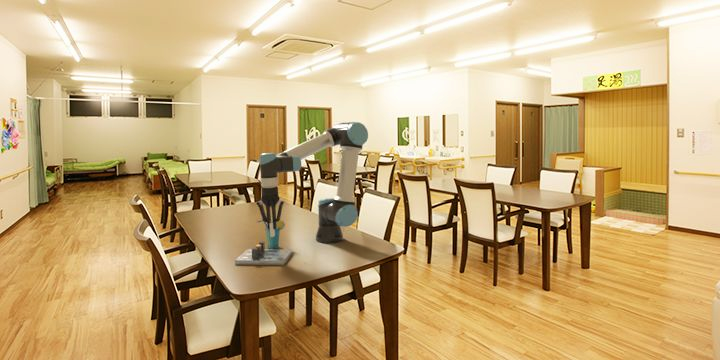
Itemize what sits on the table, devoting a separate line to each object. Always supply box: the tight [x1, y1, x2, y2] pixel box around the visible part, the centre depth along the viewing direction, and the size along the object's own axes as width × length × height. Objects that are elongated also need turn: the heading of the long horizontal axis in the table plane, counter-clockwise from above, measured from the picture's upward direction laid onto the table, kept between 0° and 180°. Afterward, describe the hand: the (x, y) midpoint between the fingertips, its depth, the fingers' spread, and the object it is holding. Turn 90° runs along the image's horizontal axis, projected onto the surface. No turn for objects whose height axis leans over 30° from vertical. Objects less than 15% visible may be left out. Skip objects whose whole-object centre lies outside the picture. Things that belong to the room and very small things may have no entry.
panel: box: [234, 241, 293, 266], centre depth 186 cm, size 22×18×6 cm
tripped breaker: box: [254, 244, 261, 254], centre depth 186 cm, size 2×2×4 cm
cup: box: [256, 219, 286, 249], centre depth 204 cm, size 14×8×15 cm, turn 112°
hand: (272, 236), depth 187 cm, fingers closed
